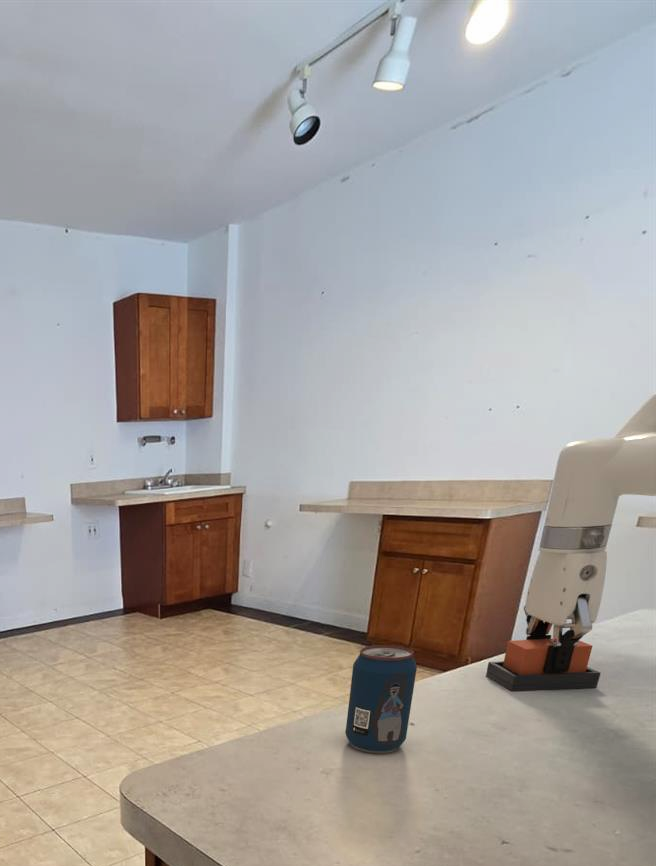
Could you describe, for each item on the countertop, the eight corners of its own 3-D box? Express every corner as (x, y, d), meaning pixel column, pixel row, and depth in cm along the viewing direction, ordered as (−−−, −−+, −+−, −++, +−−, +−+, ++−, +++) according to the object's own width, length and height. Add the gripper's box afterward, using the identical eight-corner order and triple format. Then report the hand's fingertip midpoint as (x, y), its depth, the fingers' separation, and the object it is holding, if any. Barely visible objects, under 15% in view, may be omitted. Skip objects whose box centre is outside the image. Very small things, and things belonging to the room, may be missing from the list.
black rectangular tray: (565, 672, 99) (568, 658, 98) (596, 688, 92) (601, 672, 92) (485, 676, 101) (488, 661, 100) (511, 691, 94) (514, 676, 93)
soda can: (366, 729, 84) (377, 640, 79) (416, 745, 79) (431, 650, 74) (332, 743, 81) (342, 651, 76) (382, 760, 76) (396, 662, 71)
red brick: (565, 663, 97) (571, 637, 96) (585, 672, 93) (592, 645, 91) (502, 666, 98) (507, 640, 97) (519, 675, 94) (525, 649, 92)
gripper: (647, 543, 80) (608, 682, 87) (565, 531, 95) (538, 650, 103) (583, 547, 81) (550, 685, 88) (512, 535, 96) (489, 653, 104)
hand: (544, 665), depth 95 cm, fingers closed on red brick, 5 cm apart
